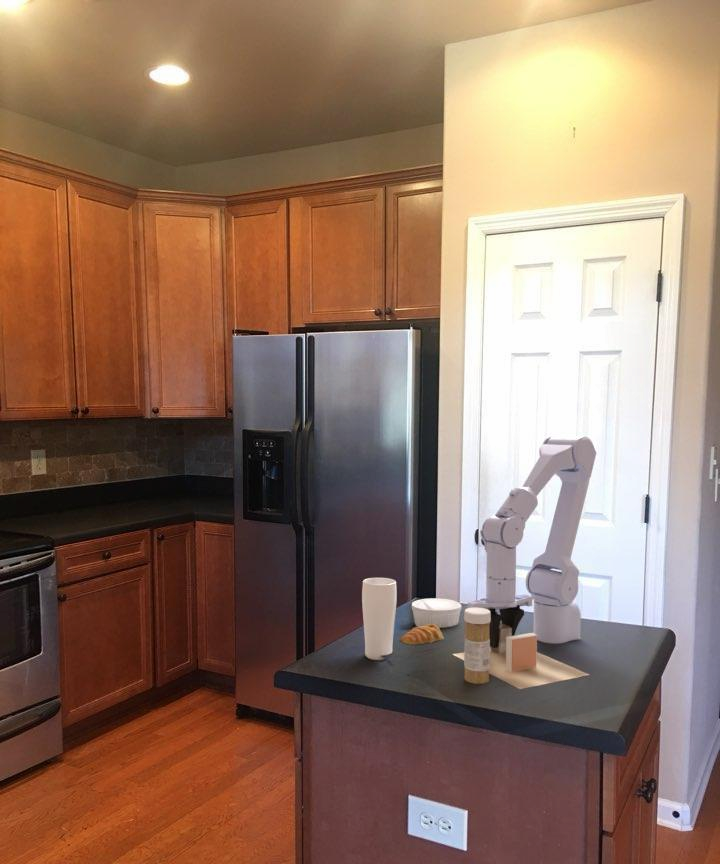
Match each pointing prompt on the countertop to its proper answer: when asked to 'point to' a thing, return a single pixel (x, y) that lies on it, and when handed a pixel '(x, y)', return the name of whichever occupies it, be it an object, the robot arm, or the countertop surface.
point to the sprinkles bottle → (477, 645)
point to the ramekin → (436, 612)
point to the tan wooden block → (502, 638)
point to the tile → (521, 652)
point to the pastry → (422, 635)
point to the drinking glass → (378, 616)
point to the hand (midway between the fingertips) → (500, 645)
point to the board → (530, 671)
